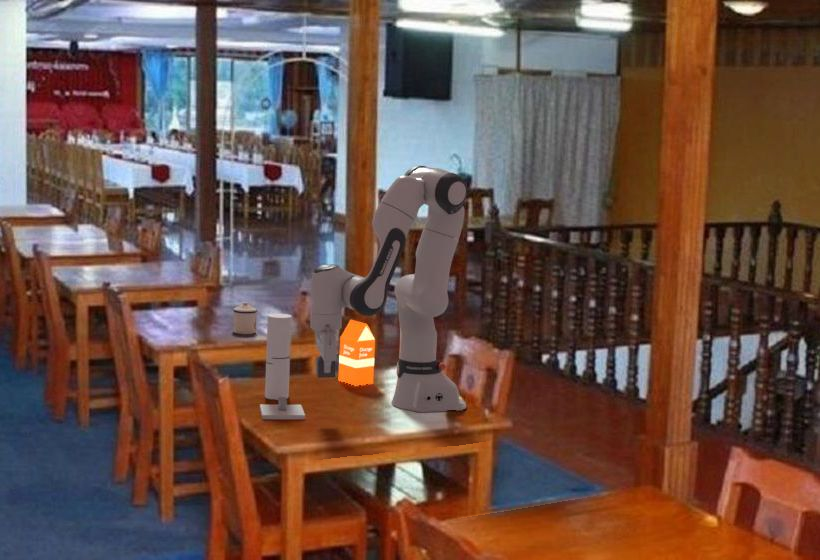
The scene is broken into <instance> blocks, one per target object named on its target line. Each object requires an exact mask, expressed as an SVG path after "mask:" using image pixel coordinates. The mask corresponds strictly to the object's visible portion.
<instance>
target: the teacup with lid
mask: <svg viewBox="0 0 820 560" xmlns="http://www.w3.org/2000/svg"><path fill="white" fill-rule="evenodd" d="M257 312H258V310H257V308H255V307H253V306H252V305H250V304H249V302H248V301H245V302H244V301H243V302H242V304H241V305H238V306H236V307H234V308H233V327H232V330H233V331H232V332H233V333H234V334H237V335H252V334H253V333H254V334H255V333H257V315H258V314H257Z"/></svg>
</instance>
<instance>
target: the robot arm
mask: <svg viewBox="0 0 820 560" xmlns="http://www.w3.org/2000/svg"><path fill="white" fill-rule="evenodd" d="M467 196H468V186H467V182H466V181H465V179H464V178H463V177H462V176H460V175H458V174H456V173H454V172H450V171H448V170H445V169H442V168H435V167H430V166H426V165H416V166H413V167H411V168H409V169H408V170H407V171H406V172H405V174H404V175H400V176H398V177H397V178H395V180H394V181H393V183H391V185H390V186H389V187H388V189H387V191H386V192H385V194H384V195H383V197H382V199H381V200H380V202H379V204H378V206H377V207H376V210H375V212H374V214H373V217H372V221H371V226H372V229H373V232H374V234H375V235H376V237H377V239H378V242H379V249H378V252H377V255H376V257H375V259H374V262H373V264H372V267H371V269H370V271H369V273H368V274H367V276H365V277H364V276H361V275H358V274H355V273H352V272H349V271H348V270H346V269H344V268H342V267H341V266H340V265H338V264H336V263H335V264H334V263H330V264H329V263H327V264H323V265H319V266H317V267H316V268H314V269H313V271H312V273H311V278H310V279H311V281H310V300H311V308H310V312H309V313H310V314H309V315H310V316H309V317H310V319H309V320H310V323H309V324H310V329H312V330H313V331H314V341H315V345H316V349H317V350H318V352H319V354H320V356H322V359H323V360H324V372H325V373H330V372H331V362H332V361H335V362H336V360H337V339H336V335H337V334H338V330H341V329H342V325H343V323H342V322H343V321H342V320H343V319H342V318H343V317H342V316H343V315H342V312H343V309H344V308H348V309H350V310H353V311H355V312H356V313H358V314H359V315H362V316H365V317H372V316H374V315H377V314H379V313H380V312H381V311H382V310H383V309H384V307H385V306H386V303H387V298H388V291H389V287H390V283H391V281H392V279H393V275H394V274H395V271H396V268H397V266H398V265H399V261H400V260H401V256H402V254H403V252H404V249H405V246H406V245H405V244H406V242H407V241H406V240H407V236H408V234H409V231H410V229H411V227H412V226H413V222H414V221H415V220H416V217H417V215H418V213H419V210H420V208H421V207H422V206H423V205H426V206H428V208H429V209H428V210H429V211H428V215H427V218H426V220H425V223H424V226H423V229H422V232H421V234H420V238H419V242H418V244H417V247H416V250H415V260H416V262H415V269H414V273H412V274H406V275H403V276H401V277H400V278H399V279H398V280H397V282H396V283H395V285H394V296H395V298H396V305H397V316H398V322H399V331H400V332H399V334H400V335H399V352H398V353H399V354H398V356H399V357H397V362H396V376H397V378H396V385H395V388H394V389H395V390H394V393H393V396H392V397H393V398H392V400H391V405H392V406H395V407H396V408H400V409H404V410H409V411H413V412H416V413H417V412H418V413H432V411H433V412H434V411H435V412H448V411H447V410H456V411H464V410H463V409H465V408H466V409H467V404H466V402H465V400H463V399H462V398H460V393H459V392H460V391H459V389H458V386H457V384H456V383H455V382H454V381H452V379H450V378H449V377H448V376H447V375H446V374H444V373H443V372H442V371H445V370H446V368H447V366H446V364H445V363H444V362H441V361H440V360H439V359H437V343H438V333H437V329H436V326H435V320H434V318H435V317H436V318H437V317H439V316H441V315H442V314H444V313H445V311H446V310H447V308H448V305H449V300H450V299H449V295H448V293H449V292H448V288H449V280H450V272H451V265H452V261H453V260H454V255H455V252H456V250H457V246H458V243H459V239H460V236H461V233H462V228H463V225H464V218H465V211H466V210H465V207H464V204H465V202H466V199H467ZM466 409H465V410H466Z"/></svg>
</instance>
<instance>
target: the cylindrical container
mask: <svg viewBox="0 0 820 560" xmlns="http://www.w3.org/2000/svg"><path fill="white" fill-rule="evenodd" d="M266 329H267V330H266V353H265V354H266V357H265V361H266V362H265V382H264V383H265V384H264V385H265V386H264V387H265V388H264V397H265V398H266V399H268V400H273V399H274V400H276V401H278V398H279V397H286V398H287V399H288V397H289V396H290V395H289V394H290V369H291V368H290V367H291V345H292V343H291V342H292V315H291V314H287V313H269V314H267V328H266Z"/></svg>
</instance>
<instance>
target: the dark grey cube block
mask: <svg viewBox="0 0 820 560" xmlns="http://www.w3.org/2000/svg"><path fill="white" fill-rule="evenodd" d="M315 375H316V378H318V379H321V378H324V379H327V378H336V360H335V361H332V362H331V372H330V373H325V372H324V360H323V359H322V356H317V355H316V356H315Z"/></svg>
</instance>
